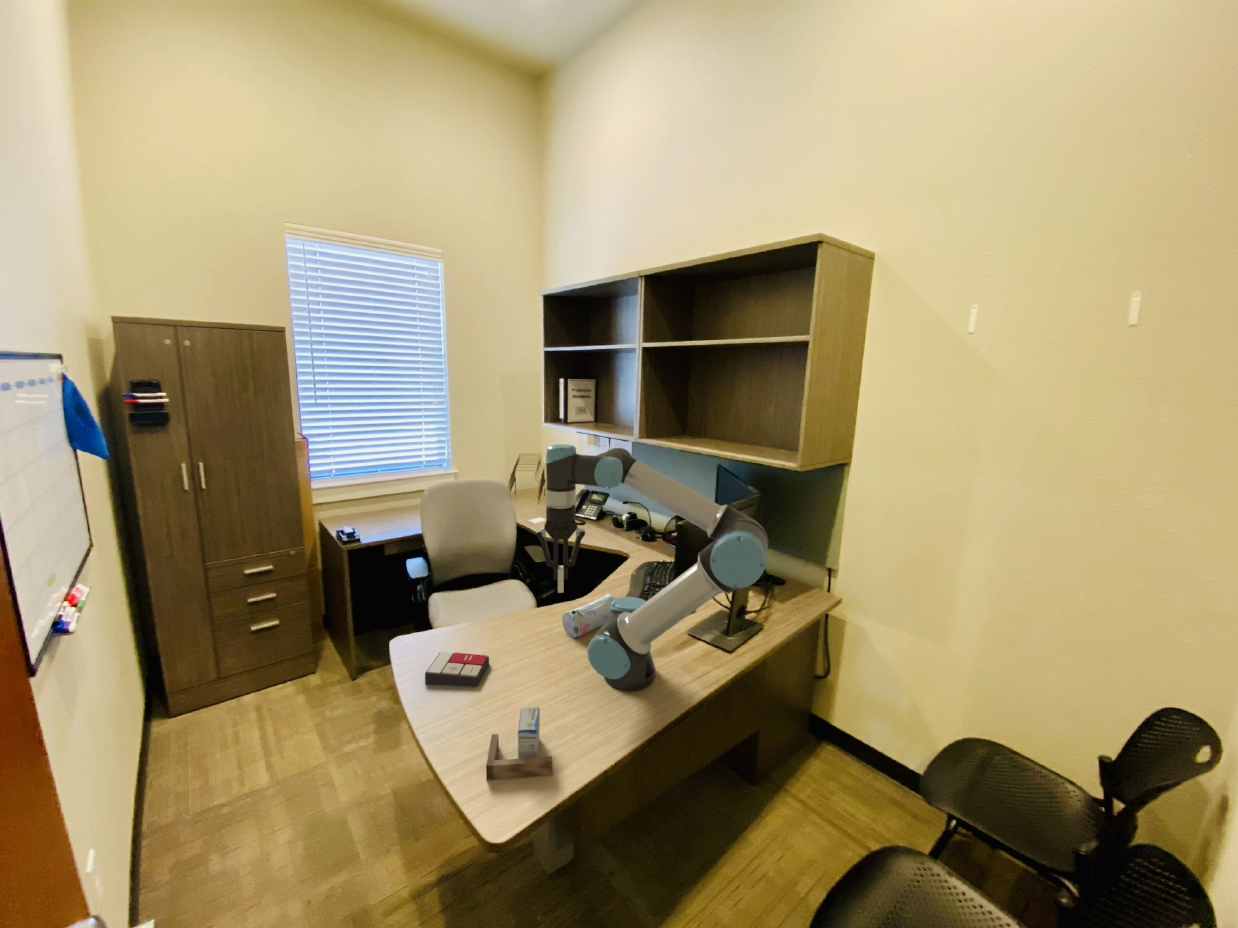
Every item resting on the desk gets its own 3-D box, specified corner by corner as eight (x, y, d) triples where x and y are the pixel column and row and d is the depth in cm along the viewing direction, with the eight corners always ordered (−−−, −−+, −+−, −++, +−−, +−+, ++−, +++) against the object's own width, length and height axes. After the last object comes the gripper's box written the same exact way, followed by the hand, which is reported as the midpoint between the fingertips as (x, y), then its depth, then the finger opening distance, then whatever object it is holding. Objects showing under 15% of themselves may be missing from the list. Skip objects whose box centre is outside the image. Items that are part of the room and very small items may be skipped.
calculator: (477, 676, 136) (424, 670, 137) (477, 689, 137) (424, 684, 137) (489, 653, 147) (440, 649, 147) (489, 666, 148) (440, 662, 148)
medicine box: (521, 739, 118) (520, 706, 116) (539, 738, 118) (539, 705, 116) (517, 764, 110) (517, 730, 108) (538, 763, 110) (537, 729, 109)
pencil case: (575, 642, 160) (576, 615, 159) (559, 632, 167) (559, 606, 165) (621, 621, 175) (622, 596, 173) (604, 612, 181) (605, 588, 179)
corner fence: (552, 743, 116) (552, 729, 116) (552, 775, 107) (552, 761, 107) (492, 747, 115) (491, 734, 114) (486, 780, 105) (486, 765, 105)
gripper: (585, 500, 131) (584, 583, 135) (535, 501, 130) (536, 585, 134) (587, 508, 124) (585, 595, 128) (534, 508, 122) (535, 597, 126)
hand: (560, 590), depth 131 cm, fingers closed
